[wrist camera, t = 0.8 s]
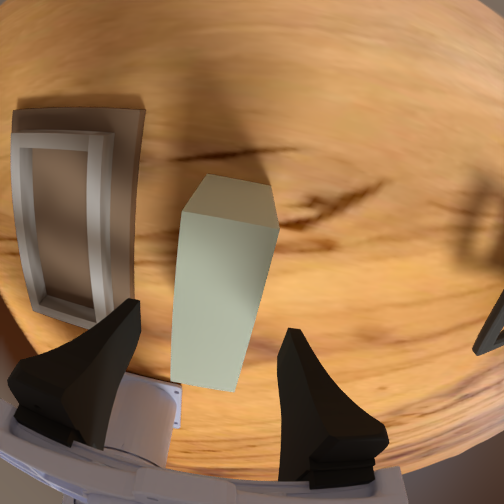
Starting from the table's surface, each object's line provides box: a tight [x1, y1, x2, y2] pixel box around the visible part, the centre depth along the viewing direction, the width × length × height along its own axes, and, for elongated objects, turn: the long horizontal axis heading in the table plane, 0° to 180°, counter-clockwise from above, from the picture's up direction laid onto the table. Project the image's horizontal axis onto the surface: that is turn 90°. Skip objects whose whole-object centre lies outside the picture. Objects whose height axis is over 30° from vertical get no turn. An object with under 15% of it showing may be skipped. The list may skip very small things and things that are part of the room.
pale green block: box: [171, 174, 280, 392], centre depth 17 cm, size 11×4×7 cm, turn 168°
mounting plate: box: [11, 107, 146, 329], centre depth 18 cm, size 18×11×2 cm, turn 168°
